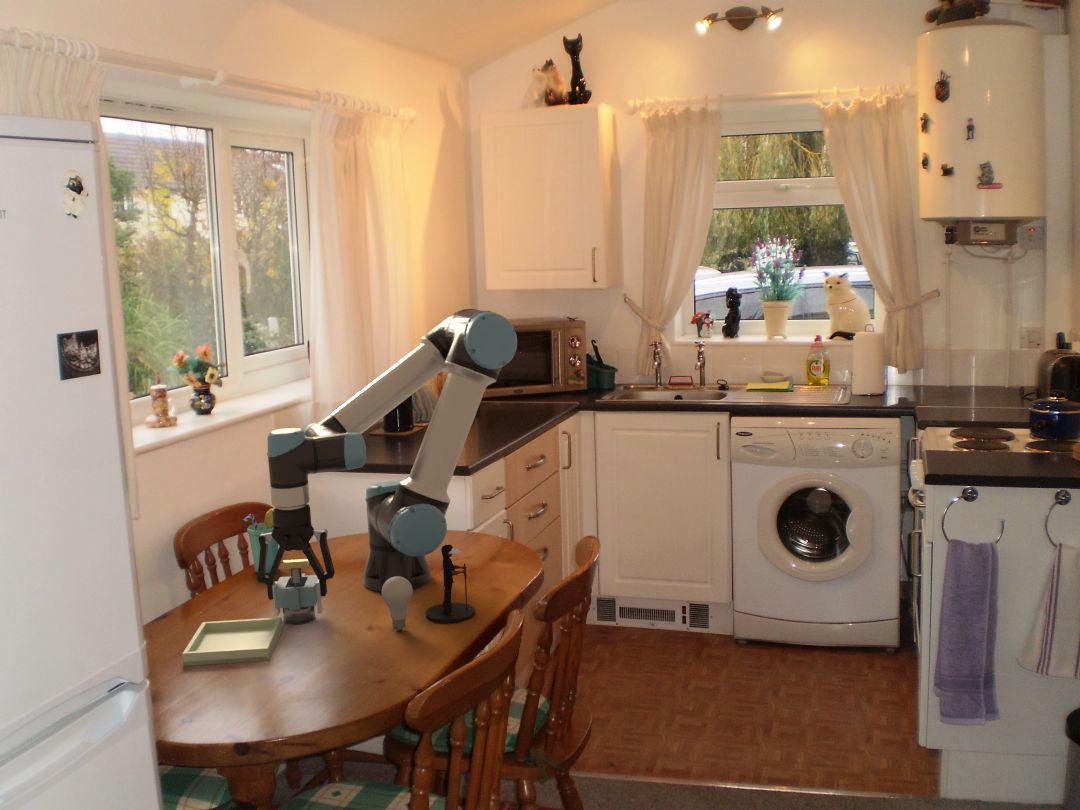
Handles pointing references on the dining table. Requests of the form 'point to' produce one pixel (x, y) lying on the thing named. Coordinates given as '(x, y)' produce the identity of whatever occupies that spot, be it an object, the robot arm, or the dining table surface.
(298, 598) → the slotted blue block
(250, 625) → the tray
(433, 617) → the figurine
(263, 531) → the cup
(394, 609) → the lightbulb
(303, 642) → the dining table surface
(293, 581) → the grey stamp
